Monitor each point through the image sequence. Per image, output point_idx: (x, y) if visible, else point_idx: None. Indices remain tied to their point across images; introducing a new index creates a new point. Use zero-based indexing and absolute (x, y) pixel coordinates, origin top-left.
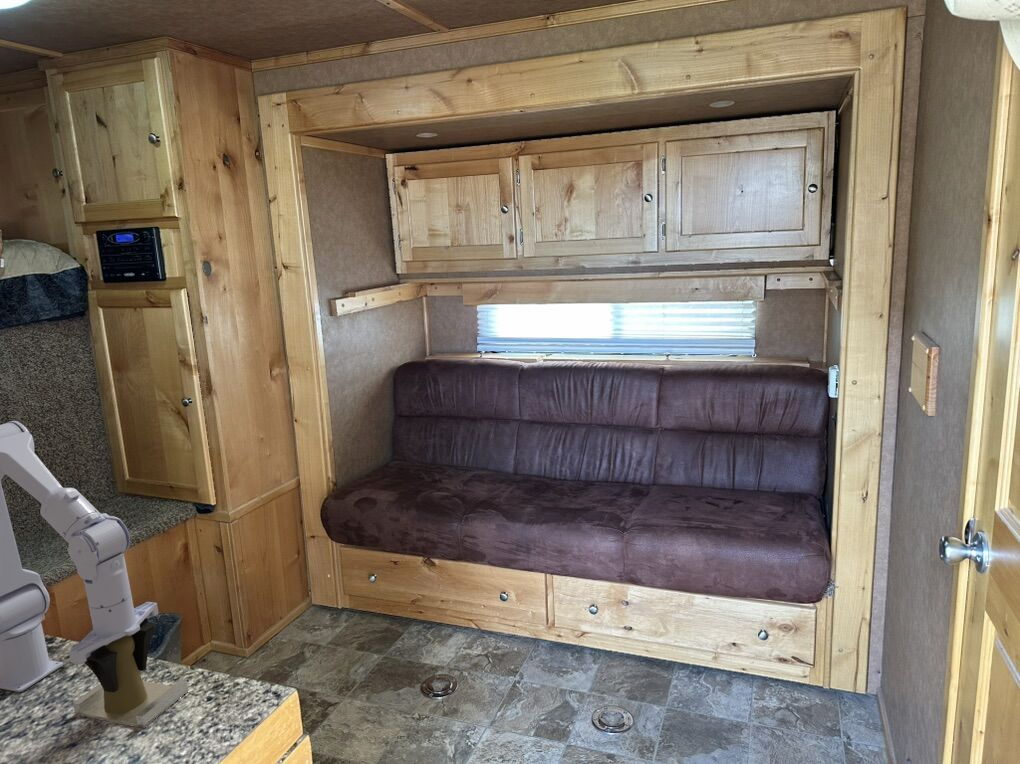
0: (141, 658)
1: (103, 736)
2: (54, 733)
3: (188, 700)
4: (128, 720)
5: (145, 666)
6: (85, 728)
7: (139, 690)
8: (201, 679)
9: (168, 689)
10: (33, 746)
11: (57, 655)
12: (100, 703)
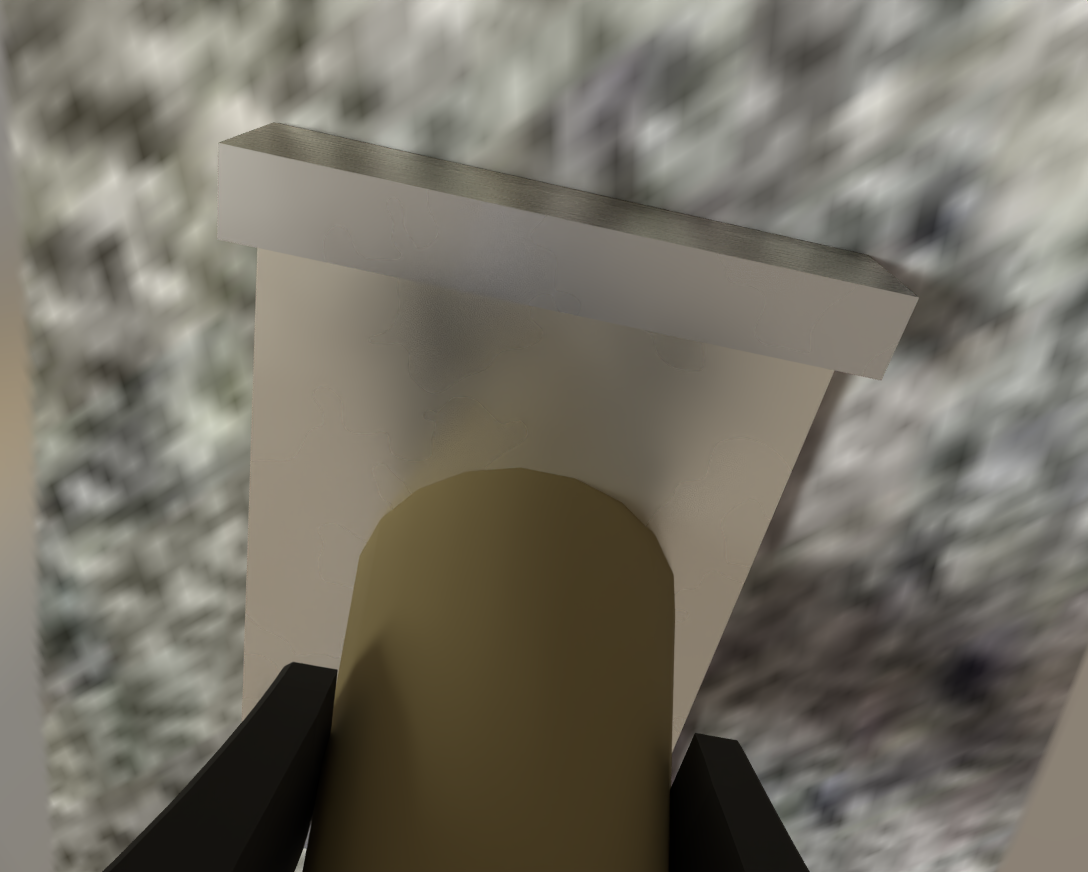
0: (275, 816)
1: (910, 538)
2: (815, 825)
3: (413, 28)
4: (773, 452)
5: (291, 688)
6: (788, 697)
7: (510, 555)
8: (44, 99)
9: (420, 278)
10: (926, 857)
11: None
12: None
